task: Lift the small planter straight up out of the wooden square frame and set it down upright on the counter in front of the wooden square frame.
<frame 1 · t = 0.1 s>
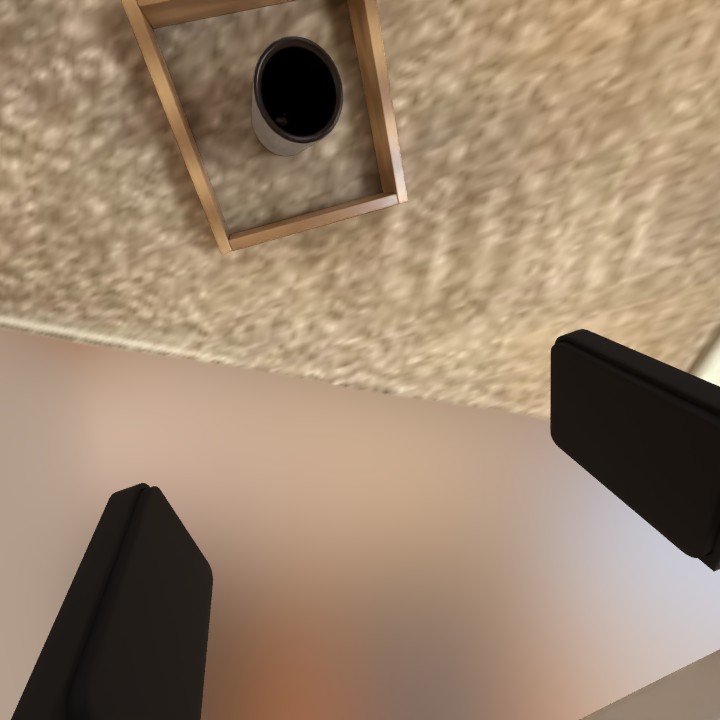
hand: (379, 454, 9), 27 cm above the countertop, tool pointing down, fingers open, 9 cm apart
planter: (283, 122, 28), resting in wooden square frame
wooden square frame: (283, 121, 28), on the countertop
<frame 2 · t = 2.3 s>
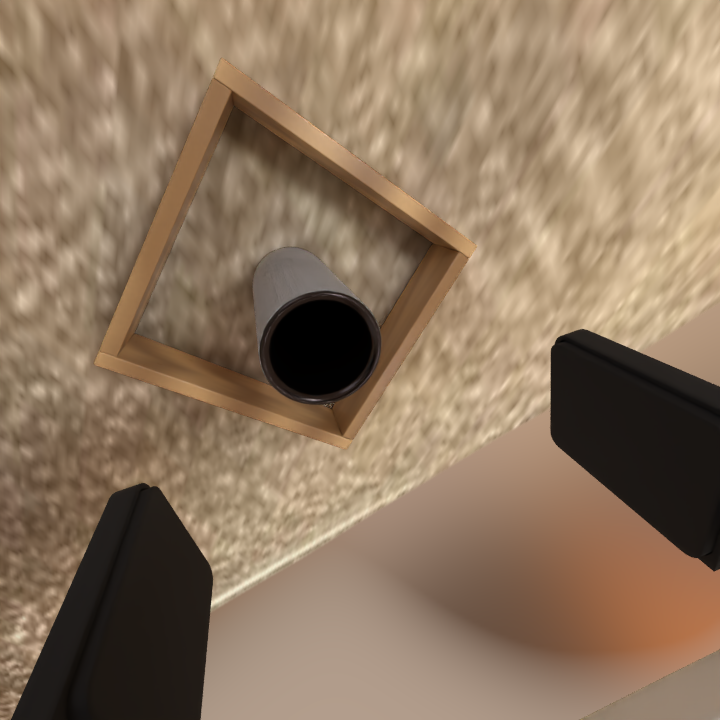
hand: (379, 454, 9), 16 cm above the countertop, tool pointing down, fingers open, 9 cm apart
planter: (291, 284, 23), resting in wooden square frame
wooden square frame: (291, 285, 23), on the countertop
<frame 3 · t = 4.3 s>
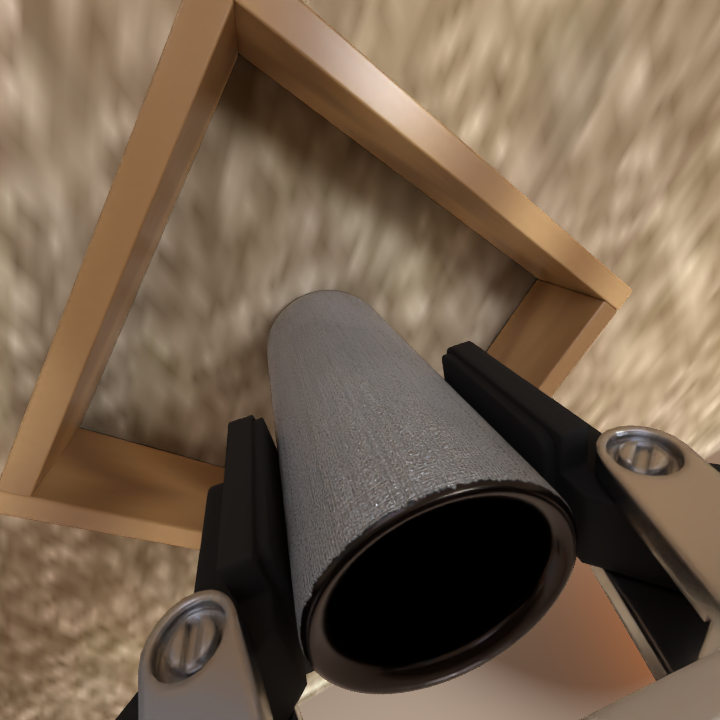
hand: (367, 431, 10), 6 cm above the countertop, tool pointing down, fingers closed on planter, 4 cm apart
planter: (326, 344, 15), resting in wooden square frame, touching gripper
wooden square frame: (326, 346, 15), on the countertop
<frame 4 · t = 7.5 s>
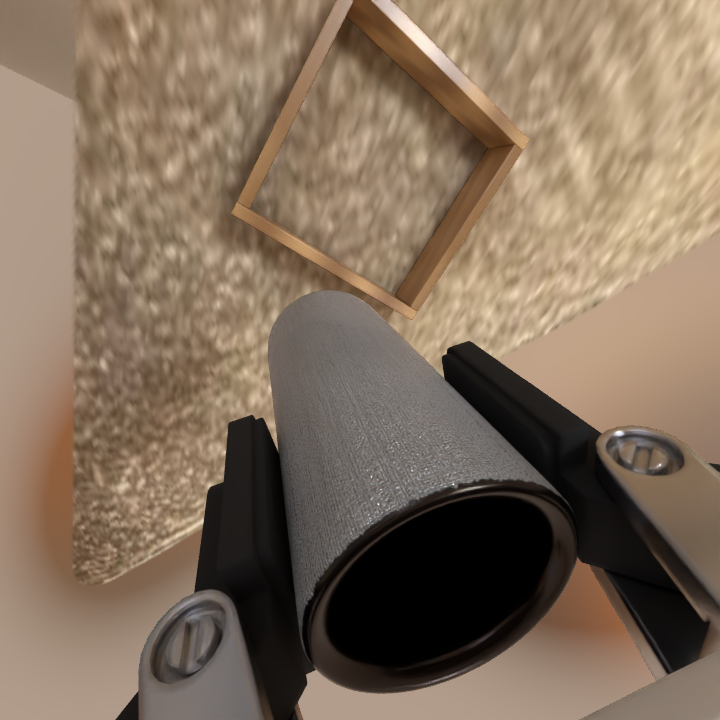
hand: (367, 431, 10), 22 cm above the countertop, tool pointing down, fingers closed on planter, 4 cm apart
planter: (326, 344, 15), point 16 cm above the countertop, touching gripper
wooden square frame: (373, 176, 28), on the countertop
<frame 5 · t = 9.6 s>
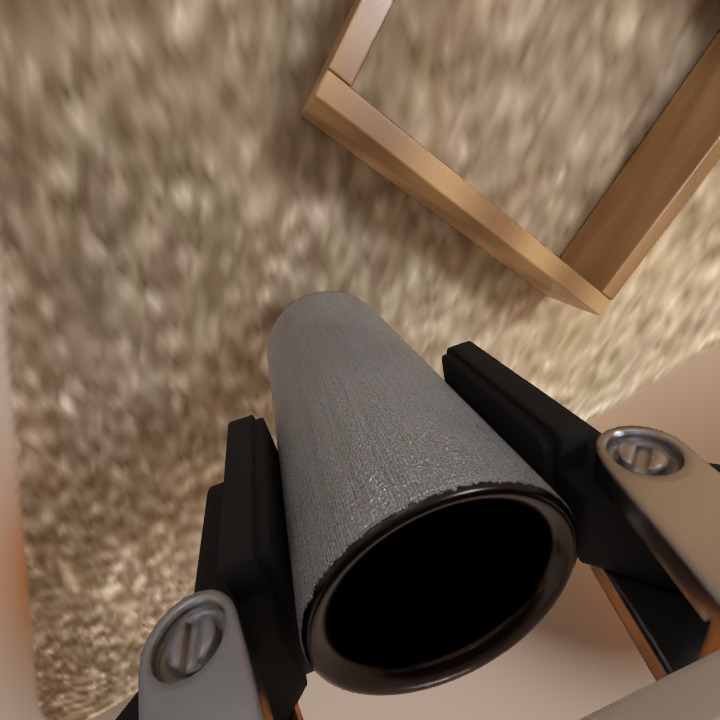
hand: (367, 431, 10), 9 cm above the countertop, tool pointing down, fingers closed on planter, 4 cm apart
planter: (326, 345, 15), point 3 cm above the countertop, touching gripper
wooden square frame: (546, 55, 15), on the countertop
when the fingers open (6 cm above the countertop, at t = 10.9 s): planter stays where it is, on the countertop.
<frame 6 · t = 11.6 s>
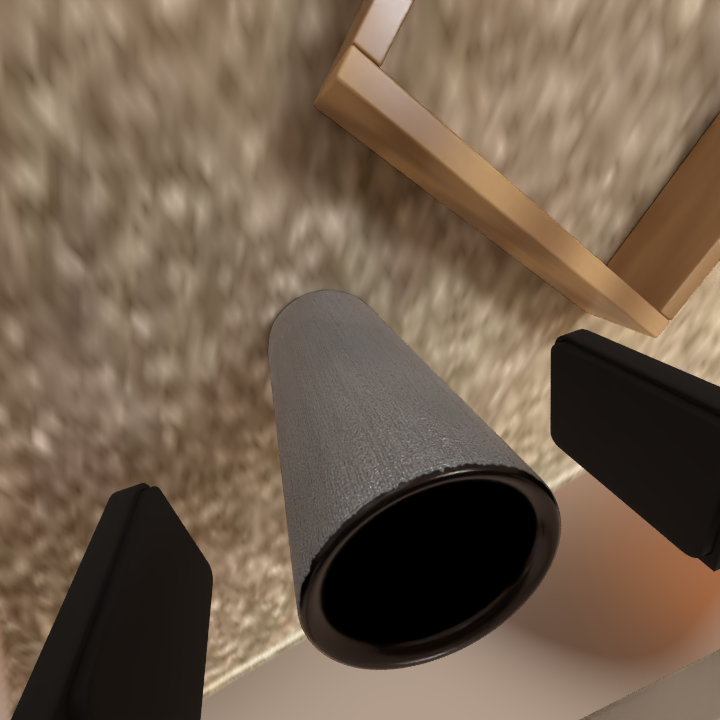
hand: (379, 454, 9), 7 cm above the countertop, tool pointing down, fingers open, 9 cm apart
planter: (325, 343, 15), on the countertop
wooden square frame: (600, 37, 13), on the countertop
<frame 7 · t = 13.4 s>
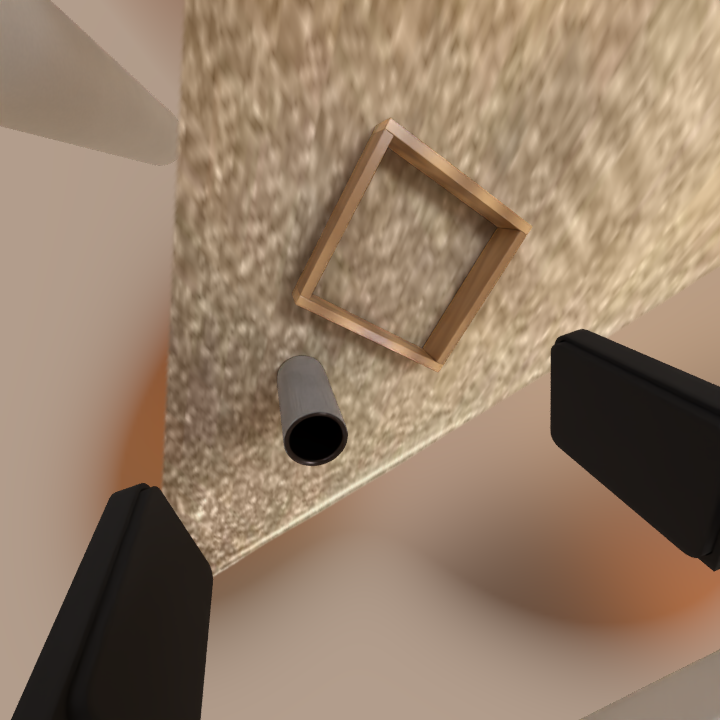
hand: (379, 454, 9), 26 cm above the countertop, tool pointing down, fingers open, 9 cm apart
planter: (301, 376, 36), on the countertop
wooden square frame: (403, 257, 34), on the countertop
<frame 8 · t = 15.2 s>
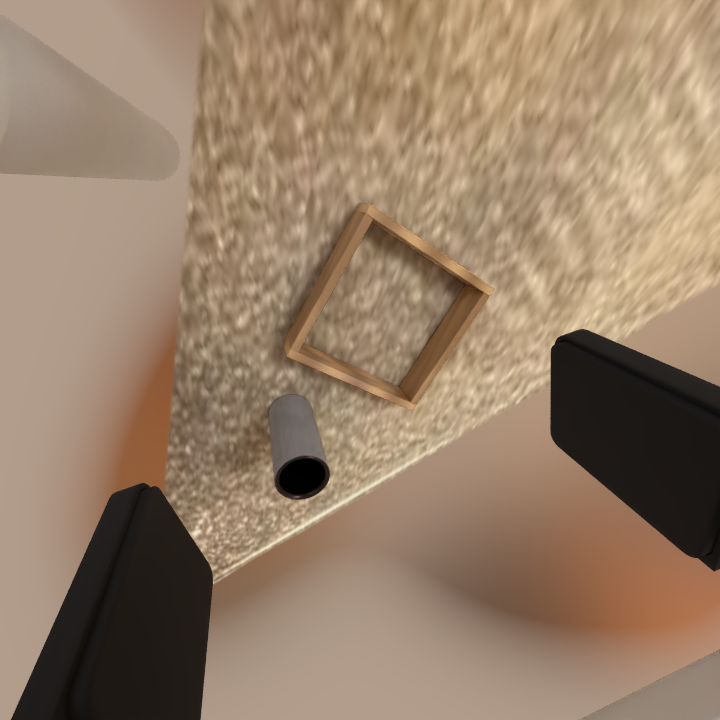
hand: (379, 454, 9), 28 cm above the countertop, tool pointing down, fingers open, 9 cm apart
planter: (290, 411, 40), on the countertop
wooden square frame: (382, 310, 38), on the countertop
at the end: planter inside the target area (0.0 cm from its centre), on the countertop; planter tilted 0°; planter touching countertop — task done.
